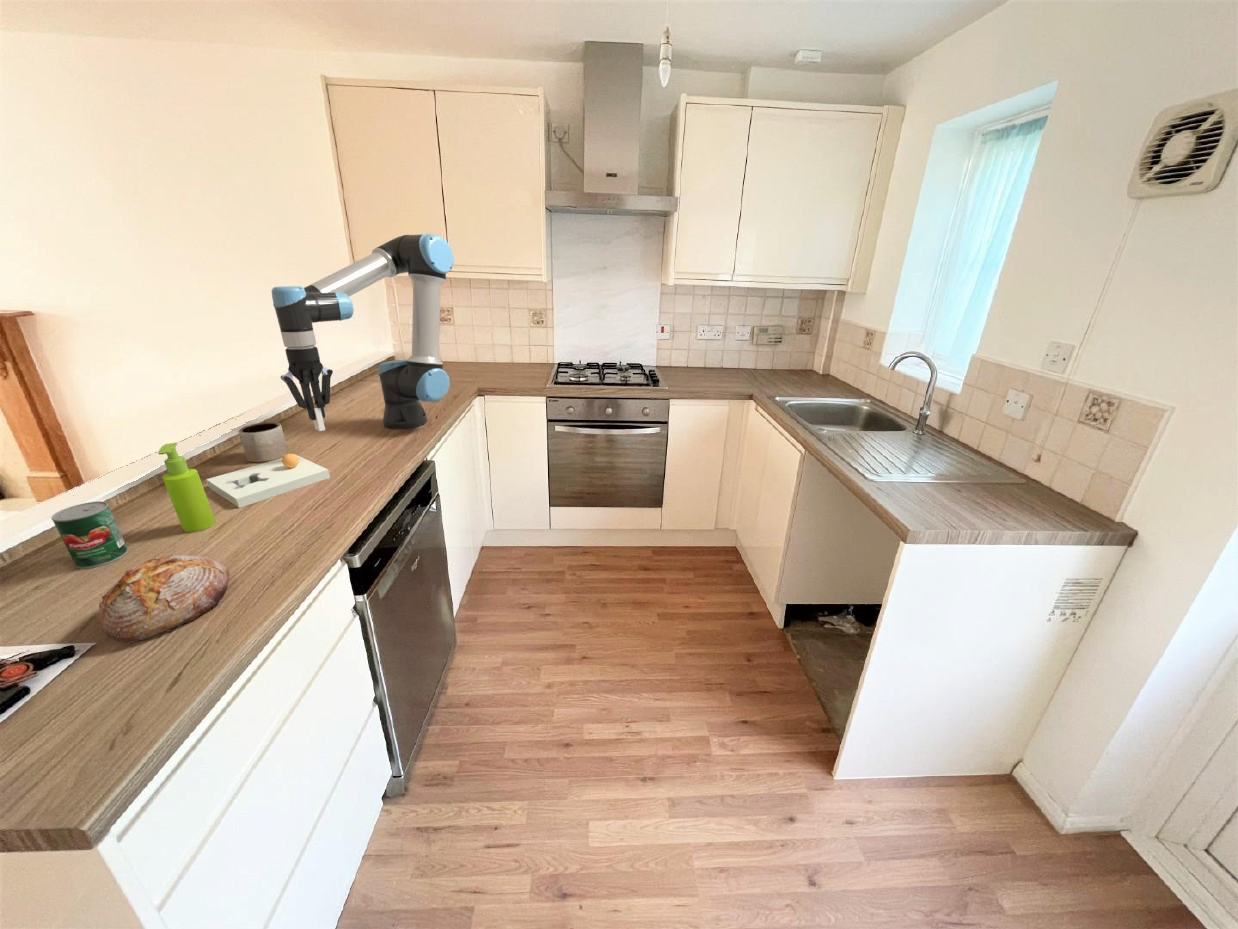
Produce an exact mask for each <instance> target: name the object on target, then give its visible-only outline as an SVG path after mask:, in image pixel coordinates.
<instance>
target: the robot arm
mask: <svg viewBox="0 0 1238 929" xmlns="http://www.w3.org/2000/svg"><path fill="white" fill-rule="evenodd" d="M454 257H455V256H454V252H453V250H452V247H451V245H449V242H448V241H447V240H446V239H445V238H443V237H442V236H440V235H438V234H431V233H424V234H423V233H422V234H403V235H400V236H397V237H395V238H392V239H390V240H389V241H386V242H384V243H383V244H381V245H379V246H377V247H375V248H373V249H372V251H371V254H370V255H367V256H364V257H363V258H361V259H359V260H357V261H356V262H352V264H349V265H347V266H345V267H343V268H341V269H339V270H337V271H335V272H333V273H331V274H329V275H327V276H325V277H323V278H321V279H319V280H317V281H315V282H313V283H311V284H309V285H308V286H305V287H302V286H296V285H295V286H293V285H291V286H289V285H288V286H275V287H273V288H272V289H271V297H272V303H273V304H272V305H273V307H274V310H275V314H276V318H277V322H278V326H279V329H280V335H281V339H282V343H283V346H284V347H285V348H286V349H284V350H285V354H286V359H287V363H288V368H287V371H288V372H286V373H285V374H283V375H280V379H281V380H282V381H283V382H284V383H286V386H287V387H288V389H289V392H290V393H291V395H292V397H293V398H294V400H295V402H296V404H297V405H298V408H300V409H301V408H302V409H304V410H305V409H306V412H307V414H308V418H309V420H311V421H313V426H314V429H315V430H317V431H319V432H323V431H326V427H325V422H324V419H325V418H326V412H325V407H326V405H327V404H328V405H329V404H330V402H331V377H332V375H333V372H334V371H333V370H332V369H330V368H327V367H324V366H323V363H322V362H321V360H320V359H321V358H320V354H319V349H318V347H317V346H316V345H317V340H316V335H315V332H314V327H313V324H315V323H322V322H324V323H325V322H337V321H339V322H341V321H344V320H349V319H351V318H353V315H354V310H355V309H354V304H353V301H352V299H351V296H353V295H355V294H357V293H358V292H360V291H362V290H364V289H366V288H368V287H369V286H372V285H373V284H376V283H377V282H378V281H381V280H383V279H384V278H393V277H395V276H397V275H400V274H404V273H405V274H406V273H408V275H407V276H408V277H409V278H410V279H411V282H412V285H413V286H412V319H411V320H412V326H411V328H412V330H411V334H412V335H411V356H410V357H409V358H407V359H406V358H404V359H397V360H396V359H395V360H391V361H385V362H381V363H379V365H378V376H379V380H380V384H381V385H380V386H381V390H382V396H383V400H384V408H383V409H384V411H383V415H382V416H383V417H382V422H383V426H384V427H385V428H386V429H390V430H406V429H413V428H417V427H420V426H423V425H425V424H426V423H427V422H428V415H427V413H426V411H425V409H424V406H422V404H421V402H420V401H422V402H424V403H427V402H428V403H434V402H438V401H441V400H442V399H443V398H444V397H445V396H447V394H448V392H449V390H450V383H451V382H450V377H449V375H448V373H447V372H446V371H445V370H444V362H442V360H441V359H440V357H439V356H440V327H441V326H440V323H441V295H442V293H441V292H442V291H441V290H442V288H441V287H442V285H444V283H446V281H447V274H448V273H450V271H451V270H452V268H453V267H454V264H455V263H454V262H455V258H454ZM320 376H321V386H320V379H319V377H320ZM294 378H295V379H296V380H298V384H299V385H300V388H301V392H300V390H299V388H298V386H297V384H296V382H294ZM301 393H302V394H301ZM424 423H425V424H424Z"/></svg>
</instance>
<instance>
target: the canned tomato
mask: <svg viewBox="0 0 1238 929" xmlns="http://www.w3.org/2000/svg"><path fill="white" fill-rule="evenodd" d="M50 518H51V520H52V522H53V523H54V526H55V528H56V529H57V532H58V533H59V535H60V538H61V540H62V542H63V543H64V545H65V547H66V549H67V552H68V554H69V555H70V556H71V558H70V559H72V561H73V562H74V566H75V567H76V568H77V569H84V570H86V569H94V568H98V567H102V566H105V565H108V564H111V563H113V562H116V561H119V560H120V559H122V558H123V557H125V556H126V555H127V554H128V552H129V548H128V547H127V544H126V541H125V540H124V537H123V535H122V533H121V531H120V528H119V527H118V524H117V522H116V519H115V518H114V515H113V513H112V511H111V508H110V507H109V504H108V502H106V501H90V502H85V503H80V504H75V505H72V506H69V507H66V508H64V509H62V510H61V509H60V510H59V511H57V512H55V513H54V514H52V516H51V517H50Z"/></svg>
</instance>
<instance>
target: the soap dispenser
mask: <svg viewBox="0 0 1238 929" xmlns="http://www.w3.org/2000/svg"><path fill="white" fill-rule="evenodd" d="M176 446H178V444H177V442H171V443H166V444H162V446H161V447H160V448H159V450H158V453H157V454H158V455H167V458H166V459H165V460H164V461H163V462H164V464H165V467H166V470H167V474H166V473H165V475H163V476H162V480H163V483H164V486H165V489H166V491H167V493H168V495H169V498H170V500H171V502H172V503H171V504H172V505H173V508H174V510H175V513H176V515H177V518H178V520H179V523H180V526H181V529H182V530H183V532H186V533H195V532H199V531H204V530H207V529H209V528H211V527H212V526H214V525H215V524H216V523H217V522H216V518H215V516H214V512H213V511H212V507H211V504H210V503H209V500H208V497H207V495H206V494H207V493H206V490H205V489H204V486H203V484H202V481H201V478H200V475H199V472H198V470H197V469H195V468H189V467H188V463H187V460H186V458H185V457H184V456H181V455H179V454H178V452H177V449H176Z"/></svg>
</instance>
